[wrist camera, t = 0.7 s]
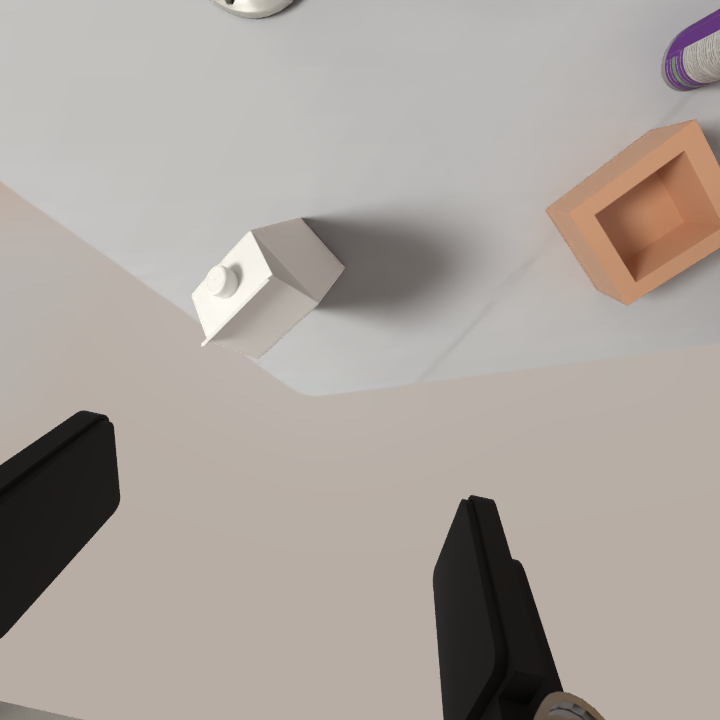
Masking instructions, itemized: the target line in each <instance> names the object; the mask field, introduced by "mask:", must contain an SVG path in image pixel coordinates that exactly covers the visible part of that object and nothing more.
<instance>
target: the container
mask: <svg viewBox="0 0 720 720" xmlns="http://www.w3.org/2000/svg"><path fill="white" fill-rule="evenodd" d="M662 76H663V79H664V81H665V82H666V84H667V85H668V86H669V87H670V88H672V89H674V90H677V91H688V90H692V89H695V88H698V87H701V86H704V85H706V84H709V83H712V82H715V81H718V80H720V9H719V10H717V11H715V12H714V13H712V14H710V15H708V16H707V17H705V18H703V19H701V20H700V21H698V22H696V23H694V24H693V25H691V26H689V27H688V28H686V29H685V30H683V31H682V32H680V33H679V34H678V35H677V36H676V37H675V38H674V39H673V40H672V42H671V43H670V44H669V46H668V48H667V49H666V52H665V54H664V57H663V60H662Z"/></svg>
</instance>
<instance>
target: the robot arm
mask: <svg viewBox="0 0 720 720" xmlns="http://www.w3.org/2000/svg"><path fill="white" fill-rule="evenodd" d="M211 1H212V2H213V3H214V4H216V5H217V6H218V7H220V8H222V9H223V10H225V11H227V12H228V13H231V14H234V15H237V16H240V17H245V18H261V17H267V16H270V15H272V14H275V13H277V12H279V11H281V10H283V9H284V8H285V7H287V6H288V5H289V4H291V3H292V2H293V1H294V0H235V1H234V4H232V5H231V2H232V0H211ZM119 502H120V490H119V479H118V468H117V456H116V446H115V435H114V426H113V424H112V423H111V422H109V418H108V417H107V416H106V415H103V414H97V413H93V412H89V411H80V412H78V413H76V414H74V415H73V416H71V417H70V418H69V419H67V420H66V421H64V422H63V423H61V424H60V425H58V426H57V427H55V428H54V429H53V430H51V431H50V432H48V433H47V434H45V435H44V436H42V437H41V438H39V439H38V440H37V441H35V442H34V443H32V444H31V445H29V446H28V447H26V448H25V449H23V450H22V451H20V452H19V453H17V454H16V455H15V456H13V457H12V458H10V459H9V460H7V461H6V462H4V463H3V464H2V465H0V638H2V637H3V636H4V635H5V634H6V633H7V632H8V631H9V630H10V628H12V626H13V625H14V624H15V623H16V622H17V621H18V620H19V619H20V617H21V616H22V615H23V614H24V613H25V612H26V611H27V610H28V608H29V607H30V606H31V605H32V604H33V603H34V602H35V601H36V599H37V598H38V597H39V596H40V595H41V594H42V593H43V592H44V591H45V589H46V588H47V587H48V586H49V585H50V584H51V583H52V582H53V580H54V579H55V578H56V577H57V576H58V575H59V574H60V573H61V572H62V570H63V569H64V568H65V567H66V566H67V565H68V564H69V563H70V561H71V560H72V559H73V558H74V557H75V556H76V554H77V553H78V552H79V551H80V550H81V549H82V548H83V547H84V546H85V544H87V542H88V541H89V540H90V539H91V538H92V537H93V536H94V534H95V533H96V532H97V531H98V530H99V529H100V528H101V527H102V526H103V524H104V523H105V522H106V521H107V520H108V519H109V518H110V516H112V514H113V513H114V512H115V510H116V509H117V507H118V505H119ZM433 590H434V601H435V615H436V627H437V640H438V654H439V666H440V679H441V692H442V705H443V717H444V720H605V719H604V718H603V717H602V716H601V715H600V713H599V712H598V711H597V710H596V709H595V708H594V707H592V706H591V705H590V704H588V703H587V702H586V701H584V700H583V699H581V698H579V697H577V696H575V695H573V694H570V693H566V692H564V691H563V688H562V685H561V682H560V679H559V676H558V673H557V670H556V667H555V663H554V660H553V657H552V654H551V651H550V648H549V645H548V642H547V639H546V635H545V632H544V629H543V626H542V623H541V620H540V617H539V614H538V610H537V607H536V604H535V602H534V599H533V595H532V592H531V589H530V586H529V582H528V579H527V576H526V573H525V571H524V568H523V566H522V564H521V563H520V562H519V561H518V560H514V559H512V557H511V554H510V551H509V547H508V544H507V540H506V537H505V534H504V530H503V527H502V524H501V520H500V517H499V514H498V510H497V507H496V504H495V502H494V500H492V499H488V498H483V497H478V496H474V495H471V496H470V497H469V498H468V500H465V499H462V500H461V502H460V504H459V507H458V509H457V512H456V515H455V517H454V520H453V523H452V525H451V527H450V530H449V532H448V535H447V538H446V540H445V543H444V545H443V548H442V550H441V553H440V556H439V558H438V561H437V563H436V566H435V569H434V574H433ZM0 720H82V719H77V718H73V717H69V716H64V715H60V714H55V713H51V712H46V711H42V710H37V709H33V708H28V707H24V706H20V705H15V704H11V703H6V702H1V701H0Z"/></svg>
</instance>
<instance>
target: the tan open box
mask: <svg viewBox="0 0 720 720" xmlns="http://www.w3.org/2000/svg"><path fill="white" fill-rule="evenodd" d="M546 212H547V213H548V215H549V216H550V218H551V220H552V221H553V223H554V224H555V226H556V227H557V229H558V230H559V232H560V233H561V235H562V237H563V238H564V240H565V241H566V243H567V244H568V246H569V247H570V249H571V250H572V252H573V253H574V255H575V257H576V258H577V260H578V261H579V263H580V264H581V266H582V267H583V269H584V270H585V272H586V274H587V275H588V277H589V278H590V280H591V281H592V283H593V284H594V286H595V287H596V289H597V290H598V291H600V292H602V293H604V294H606V295H607V296H609V297H611V298H613V299H615V300H617V301H619V302H621V303H623V304H625V305H629V304H631V303H632V302H634V301H635V300H637V299H639V298H640V297H642V296H644V295H645V294H647V293H648V292H650V291H652V290H653V289H655V288H656V287H658V286H660V285H661V284H663V283H664V282H666V281H668V280H669V279H671V278H672V277H674V276H676V275H677V274H679V273H681V272H682V271H684V270H685V269H687V268H689V267H690V266H692V265H693V264H695V263H697V262H698V261H700V260H701V259H703V258H705V257H706V256H708V255H709V254H711V253H713V252H714V251H716V250H718V249H719V248H720V166H719V164H718V162H717V160H716V158H715V156H714V154H713V152H712V150H711V148H710V146H709V144H708V142H707V140H706V138H705V136H704V134H703V132H702V130H701V128H700V126H699V124H698V122H697V120H696V119H694V120H690V121H686V122H682V123H678V124H674V125H670V126H665V127H661V128H657V129H653V130H650V131H649V132H647V133H646V134H645V135H643V136H642V137H641V138H639V139H638V140H637V141H635V142H634V143H633V144H631V145H630V146H629V147H628V148H626V149H625V150H624V151H622V152H621V153H620V154H618V155H617V156H616V157H614V158H613V159H612V160H610V161H609V162H608V163H606V164H605V165H604V166H602V167H601V168H600V169H598V170H597V171H596V172H594V173H593V174H592V175H591V176H589V177H588V178H587V179H585V180H584V181H583V182H581V183H580V184H579V185H577V186H576V187H575V188H573V189H572V190H571V191H569V192H568V193H567V194H565V195H564V196H563V197H561V198H560V199H559V200H558V201H556V202H555V203H554V204H552V205H551V206H550V207H548V208H547V209H546Z"/></svg>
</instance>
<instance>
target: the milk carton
mask: <svg viewBox="0 0 720 720" xmlns="http://www.w3.org/2000/svg"><path fill="white" fill-rule="evenodd" d="M344 269H345V267H344V266H343V265H342V264H341V263H340V261H339V260H338V259H337V258H336V257H335V256H334V255H333V254H332V252H331V251H330V250H329V249H328V248H327V247H326V246H325V245H324V244H323V242H322V241H321V240H320V239H319V238H318V237H317V236H316V235H315V233H314V232H313V231H312V230H311V229H310V228H309V227H308V226H307V225H306V223H305V222H304V221H303V220H302V219H301V218H297V219H293V220H289V221H285V222H281V223H277V224H273V225H269V226H265V227H262V228H258V229H254V230H251V231H249V232H248V233H247V234H246V235H245V236H244V237H243V238H242V239H241V240H240V242H239V243H238V244H237V245H236V246H235V247H234V248H233V249H232V250H231V251H230V252H229V254H228V255H227V256H226V257H225V258H224V259H223V260H222V261H221V262H220V263H219V264H218V265H217V266H215V267H213V268H212V269H211V270H210V271H209V273H208V275H207V277H206V279H205V280H204V281H203V282H202V283H201V284H200V285H199V286H198V288H197V289H196V290H195V291H194V292H193V294H192V299H193V301H194V304H195V307H196V310H197V313H198V315H199V318H200V321H201V324H202V326H203V329H204V332H205V335H206V337H207V339H206V340H205V341H204V342H203V343H202V344H201V346H202V347H203V346H205V345H206V344H207V343H208V342H212V343H214V344H217V345H220V346H223V347H225V348H228V349H231V350H234V351H237V352H239V353H242V354H245V355H248V356H251V357H253V358H256V359H259V358H260V357H261V356H262V355H264V354H265V353H266V352H267V351H268V350H269V349H270V348H271V347H272V346H273V345H275V344H276V343H277V342H278V341H279V340H280V339H281V338H282V337H283V336H284V335H286V334H287V333H288V332H289V331H290V330H291V329H292V328H293V327H294V326H295V325H297V324H298V323H299V322H300V321H301V320H302V319H303V318H304V317H305V316H306V315H307V314H309V313H310V312H311V311H312V310H313V309H314V308H315V307H316V306H317V305H318V304H319V303H320V301H321V300H322V299H323V297H324V296H325V295H326V293H327V292H328V291H329V289H330V288H331V287H332V285H333V284H334V283H335V281H336V280H337V279H338V277H339V276H340V274H341V273H342V272H343V270H344Z"/></svg>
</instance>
